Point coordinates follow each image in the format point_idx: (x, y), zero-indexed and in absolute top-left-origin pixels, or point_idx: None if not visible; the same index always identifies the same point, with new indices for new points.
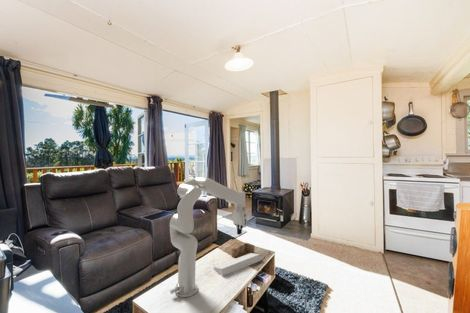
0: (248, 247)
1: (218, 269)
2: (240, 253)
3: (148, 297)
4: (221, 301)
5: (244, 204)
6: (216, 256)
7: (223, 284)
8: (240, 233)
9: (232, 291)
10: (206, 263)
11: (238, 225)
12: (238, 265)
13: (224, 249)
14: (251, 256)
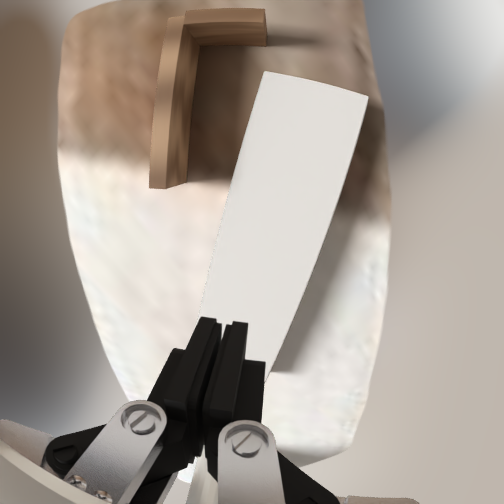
0: (214, 33)
1: None
2: (191, 106)
3: (182, 474)
4: (342, 439)
5: None
6: (105, 241)
7: (305, 400)
8: (244, 358)
9: (354, 405)
10: (129, 327)
11: (123, 468)
12: (302, 296)
13: (81, 139)
14: (328, 153)
